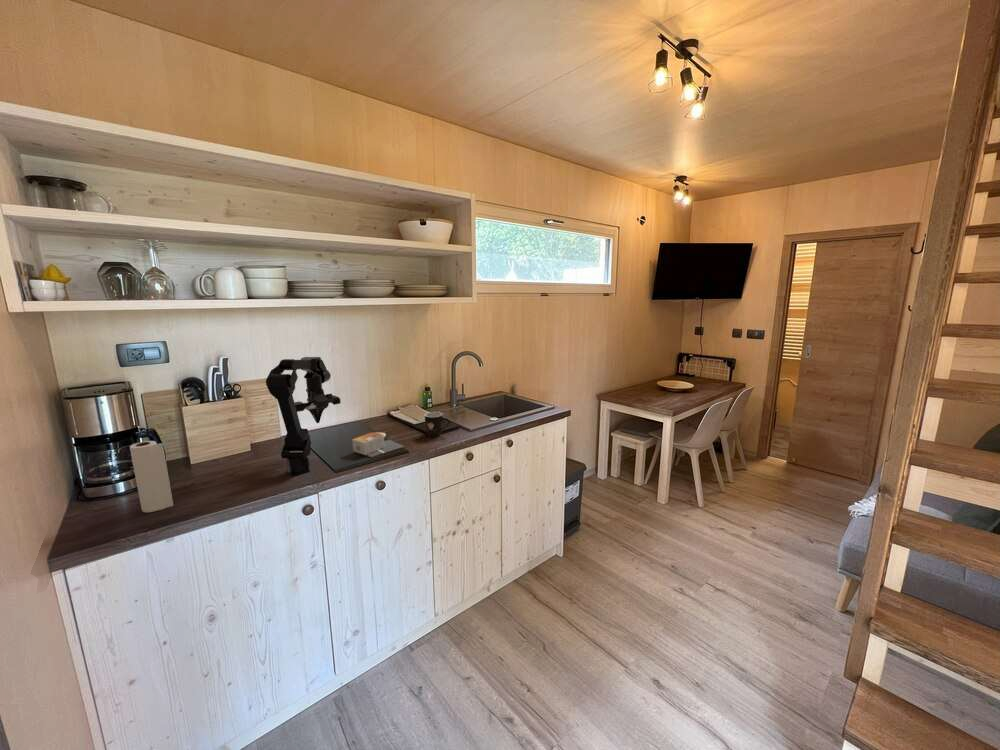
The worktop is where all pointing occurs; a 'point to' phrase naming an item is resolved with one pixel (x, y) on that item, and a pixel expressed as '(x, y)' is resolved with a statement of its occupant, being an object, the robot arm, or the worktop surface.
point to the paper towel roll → (151, 476)
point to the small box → (368, 443)
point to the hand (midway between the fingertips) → (317, 423)
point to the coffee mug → (434, 423)
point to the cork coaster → (381, 433)
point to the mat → (386, 448)
